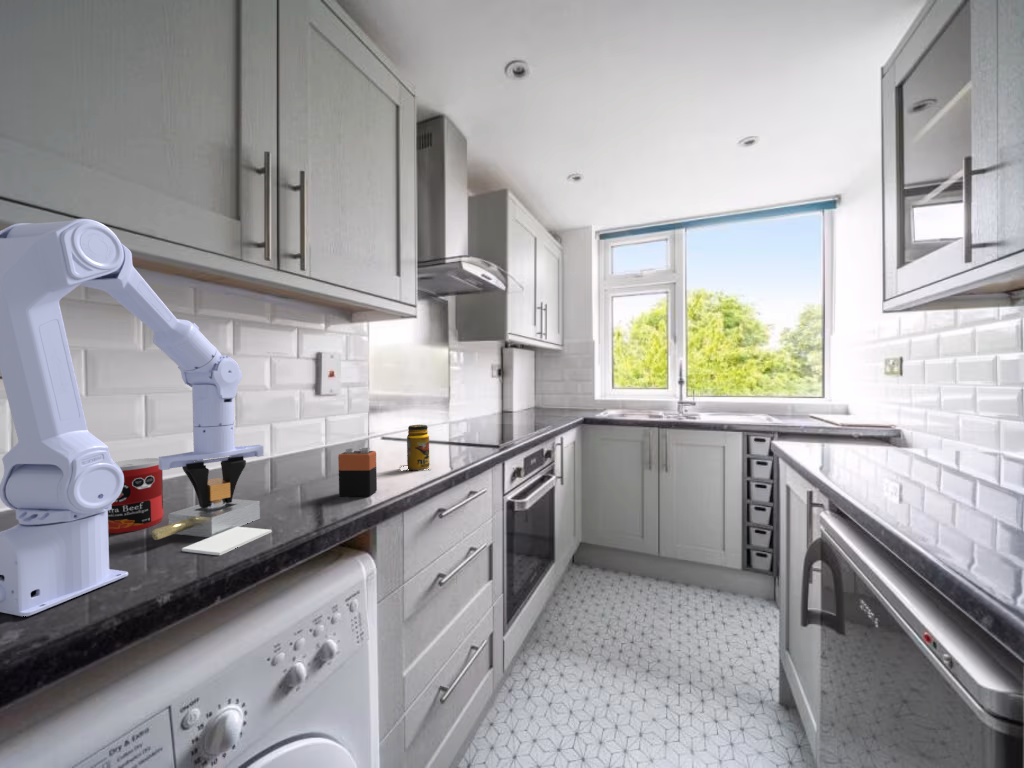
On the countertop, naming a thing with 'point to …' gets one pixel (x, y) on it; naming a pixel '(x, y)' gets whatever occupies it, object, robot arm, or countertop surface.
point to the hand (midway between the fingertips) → (215, 504)
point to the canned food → (138, 497)
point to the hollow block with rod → (209, 519)
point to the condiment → (417, 448)
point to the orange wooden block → (217, 494)
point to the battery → (357, 473)
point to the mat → (226, 540)
